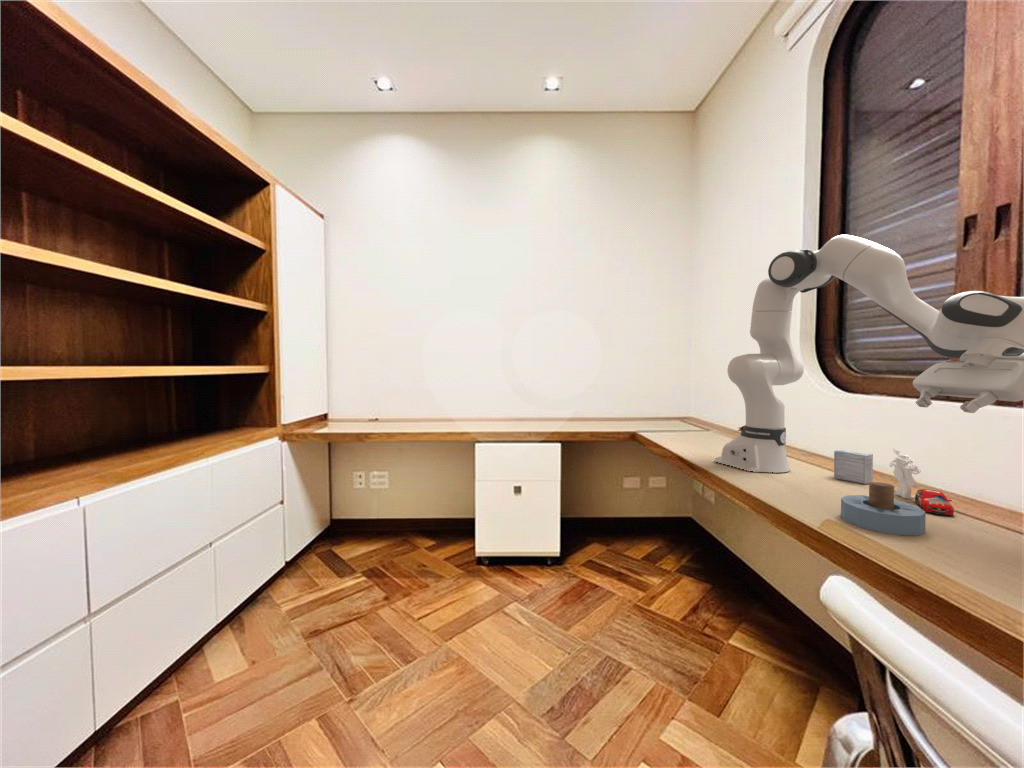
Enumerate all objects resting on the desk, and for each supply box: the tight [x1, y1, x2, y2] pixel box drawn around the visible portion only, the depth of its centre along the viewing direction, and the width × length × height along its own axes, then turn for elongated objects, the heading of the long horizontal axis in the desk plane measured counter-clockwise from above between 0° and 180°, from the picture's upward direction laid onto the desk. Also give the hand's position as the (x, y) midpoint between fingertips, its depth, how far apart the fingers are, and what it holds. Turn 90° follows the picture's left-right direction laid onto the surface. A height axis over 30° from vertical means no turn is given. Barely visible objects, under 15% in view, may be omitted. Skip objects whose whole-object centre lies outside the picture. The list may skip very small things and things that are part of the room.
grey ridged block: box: [833, 448, 874, 485], centre depth 117 cm, size 8×4×9 cm, turn 25°
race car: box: [915, 488, 955, 517], centre depth 94 cm, size 13×5×4 cm, turn 139°
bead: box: [840, 494, 927, 536], centre depth 86 cm, size 13×13×4 cm
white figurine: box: [889, 448, 921, 500], centre depth 102 cm, size 9×4×12 cm, turn 162°
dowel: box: [868, 481, 895, 510], centre depth 86 cm, size 4×4×8 cm
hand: (941, 407), depth 84 cm, fingers open, 8 cm apart
